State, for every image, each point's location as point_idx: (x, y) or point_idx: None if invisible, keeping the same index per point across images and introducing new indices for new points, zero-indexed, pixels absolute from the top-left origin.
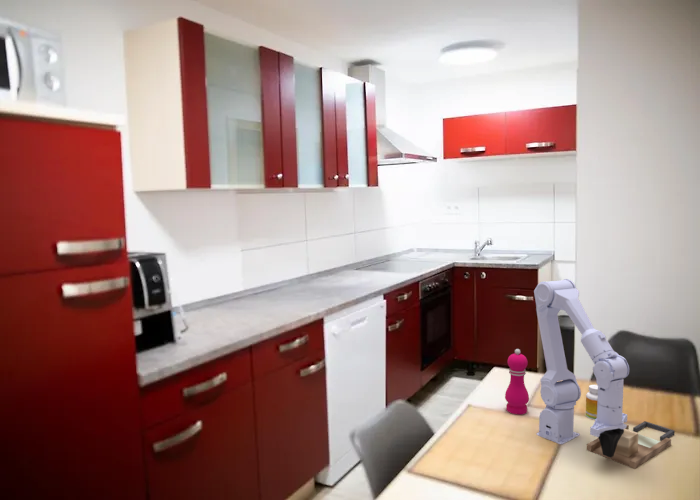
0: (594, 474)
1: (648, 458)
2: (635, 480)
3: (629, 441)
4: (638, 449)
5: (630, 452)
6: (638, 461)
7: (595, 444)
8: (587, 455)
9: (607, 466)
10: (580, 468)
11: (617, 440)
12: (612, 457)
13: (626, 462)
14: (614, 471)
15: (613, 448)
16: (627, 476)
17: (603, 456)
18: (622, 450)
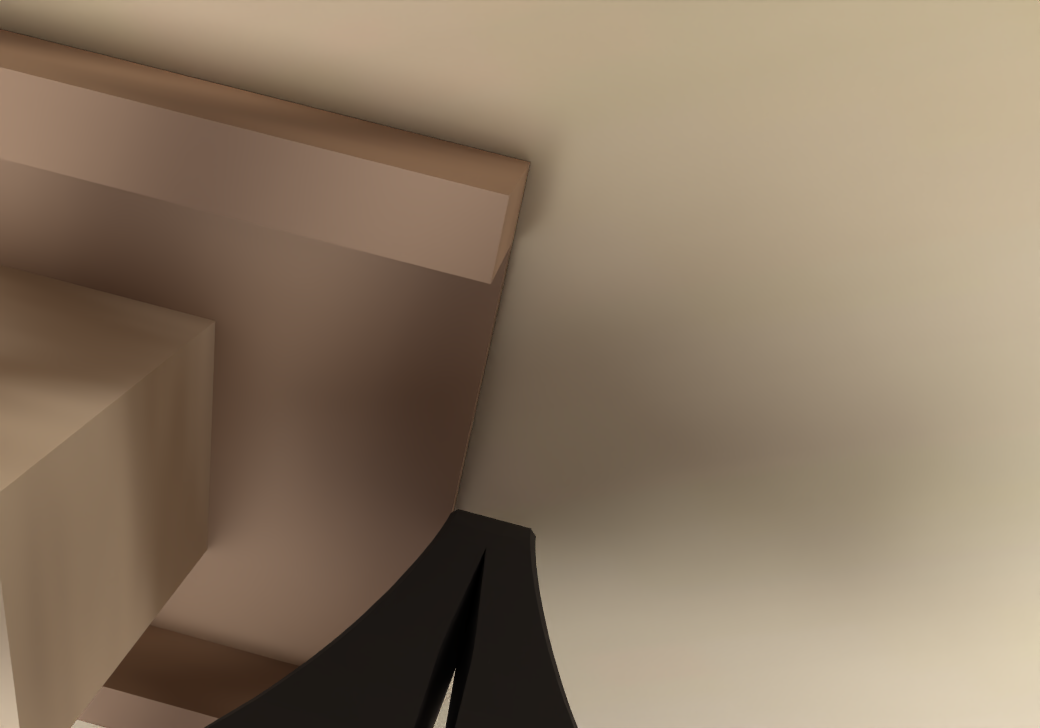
0: (998, 579)
1: (25, 47)
2: (901, 65)
3: (18, 450)
4: None
5: (118, 327)
6: (364, 151)
7: None
8: None
9: (651, 489)
10: (906, 717)
11: (378, 702)
12: (384, 487)
13: (396, 311)
14: (752, 392)
15: (501, 620)
16: (817, 207)
17: None
18: (172, 435)
